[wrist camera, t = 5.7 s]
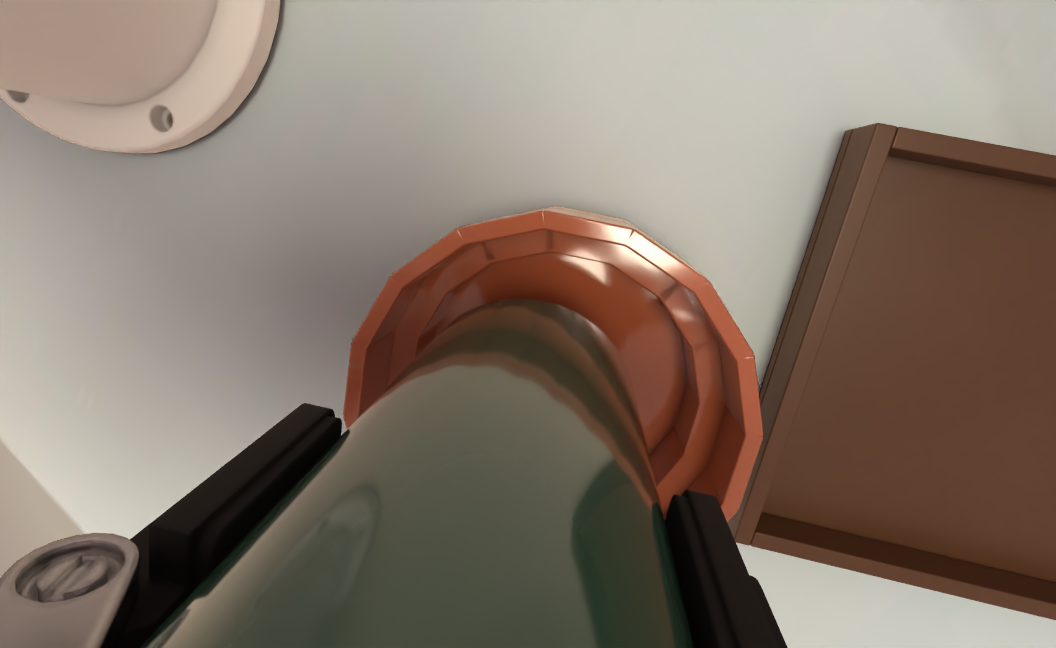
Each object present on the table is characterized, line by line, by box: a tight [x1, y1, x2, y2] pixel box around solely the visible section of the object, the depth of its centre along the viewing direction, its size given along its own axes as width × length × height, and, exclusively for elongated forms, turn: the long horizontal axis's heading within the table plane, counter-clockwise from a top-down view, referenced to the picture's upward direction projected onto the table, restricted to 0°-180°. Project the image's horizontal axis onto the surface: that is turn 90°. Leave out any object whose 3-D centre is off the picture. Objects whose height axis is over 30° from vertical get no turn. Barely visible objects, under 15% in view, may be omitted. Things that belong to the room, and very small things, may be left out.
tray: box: [727, 123, 1056, 620], centre depth 17 cm, size 16×14×2 cm
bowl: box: [343, 206, 763, 522], centre depth 18 cm, size 12×12×5 cm
